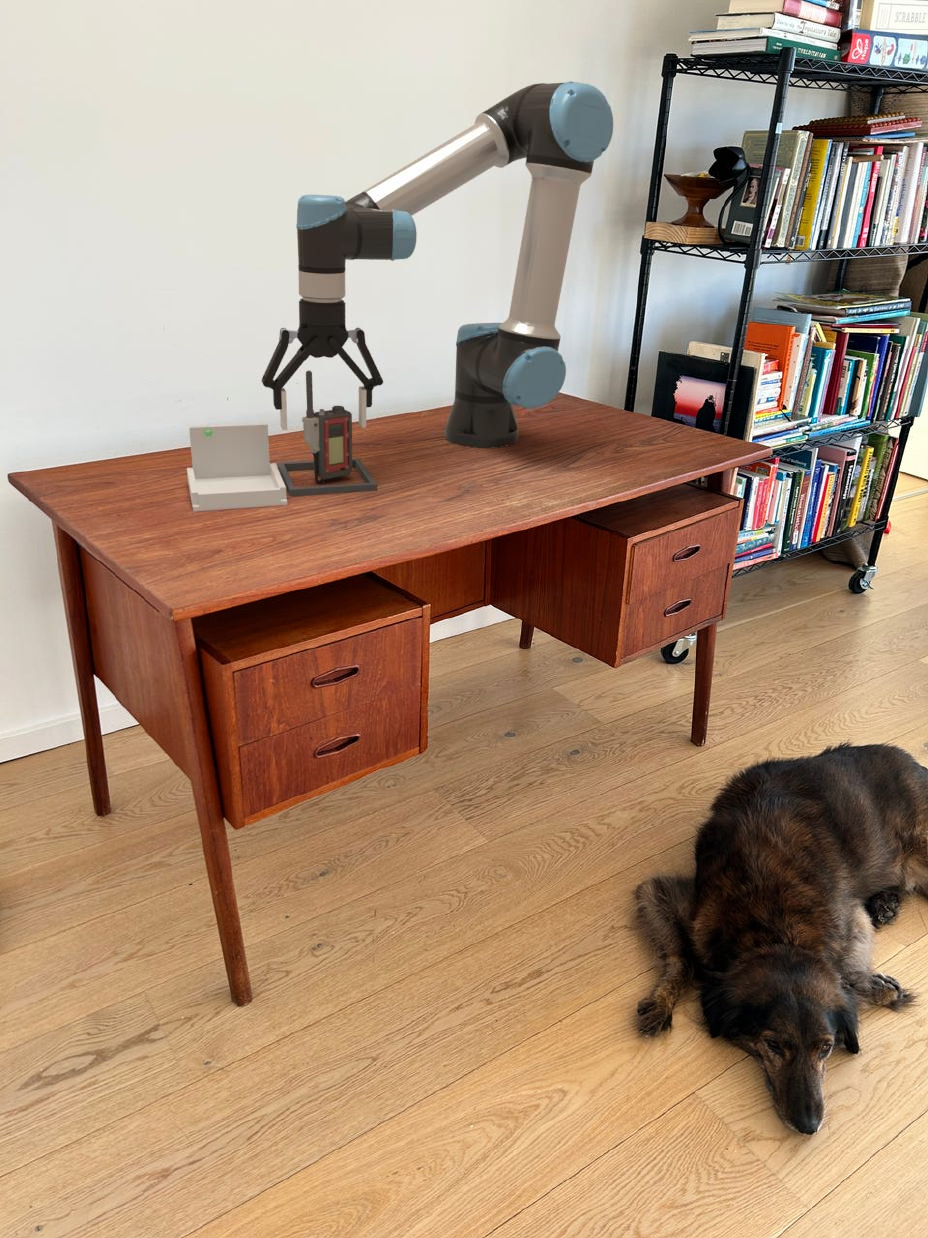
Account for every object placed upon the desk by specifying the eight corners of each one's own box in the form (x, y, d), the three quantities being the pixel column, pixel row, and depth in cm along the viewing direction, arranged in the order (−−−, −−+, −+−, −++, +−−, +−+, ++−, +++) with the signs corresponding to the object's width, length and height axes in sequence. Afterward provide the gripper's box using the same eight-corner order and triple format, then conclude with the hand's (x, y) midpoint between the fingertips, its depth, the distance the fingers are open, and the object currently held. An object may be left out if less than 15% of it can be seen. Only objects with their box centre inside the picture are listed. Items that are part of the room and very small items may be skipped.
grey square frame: (359, 466, 180) (359, 458, 179) (377, 492, 167) (377, 484, 166) (277, 470, 175) (277, 462, 175) (290, 498, 163) (289, 489, 162)
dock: (275, 477, 172) (272, 422, 167) (287, 506, 159) (285, 447, 154) (188, 482, 167) (182, 426, 163) (193, 512, 155) (188, 452, 150)
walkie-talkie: (310, 489, 167) (306, 372, 158) (298, 481, 170) (294, 367, 161) (354, 480, 172) (353, 367, 163) (341, 474, 175) (339, 362, 166)
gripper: (391, 295, 164) (389, 418, 173) (241, 294, 157) (247, 422, 166) (402, 302, 157) (399, 430, 167) (246, 301, 150) (252, 435, 160)
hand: (323, 426), depth 166 cm, fingers open, 13 cm apart
